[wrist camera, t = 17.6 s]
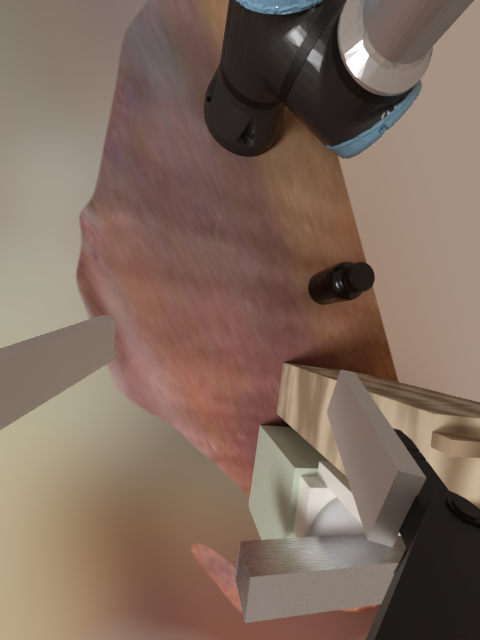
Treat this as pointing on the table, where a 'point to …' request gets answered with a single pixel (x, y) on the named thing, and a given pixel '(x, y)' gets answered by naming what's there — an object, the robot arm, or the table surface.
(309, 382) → the birch stand
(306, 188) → the table surface
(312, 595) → the bar
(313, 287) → the supplement bottle
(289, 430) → the block
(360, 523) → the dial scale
